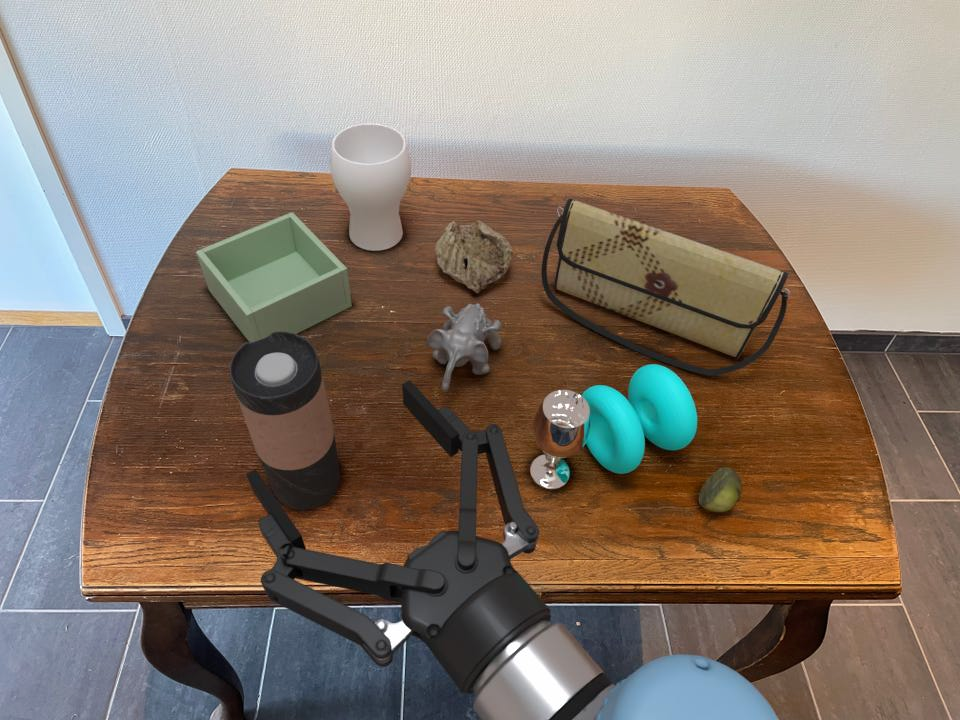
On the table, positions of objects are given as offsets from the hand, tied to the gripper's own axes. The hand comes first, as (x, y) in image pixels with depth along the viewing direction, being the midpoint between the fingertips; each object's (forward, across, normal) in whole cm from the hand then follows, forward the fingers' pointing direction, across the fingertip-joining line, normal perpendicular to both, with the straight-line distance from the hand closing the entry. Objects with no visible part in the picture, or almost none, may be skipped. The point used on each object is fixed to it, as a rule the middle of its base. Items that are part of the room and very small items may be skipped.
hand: (334, 433), depth 54 cm
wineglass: (-5, +22, -21) cm, 31 cm away
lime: (-19, +34, -21) cm, 44 cm away
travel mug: (+10, 0, -21) cm, 23 cm away
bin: (+36, +11, -21) cm, 43 cm away
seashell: (+25, +35, -21) cm, 48 cm away
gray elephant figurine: (+12, +23, -21) cm, 34 cm away
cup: (+39, +28, -21) cm, 53 cm away
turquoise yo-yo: (-8, +31, -21) cm, 39 cm away
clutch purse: (+3, +46, -21) cm, 50 cm away
